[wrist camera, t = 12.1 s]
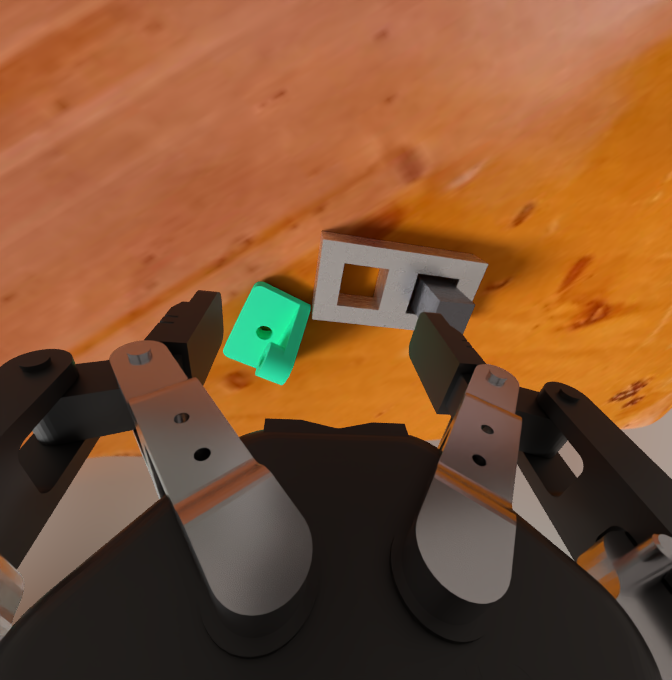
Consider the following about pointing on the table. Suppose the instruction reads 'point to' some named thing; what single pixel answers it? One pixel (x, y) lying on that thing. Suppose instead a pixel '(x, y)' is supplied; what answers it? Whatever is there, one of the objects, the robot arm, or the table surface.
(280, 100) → the table surface
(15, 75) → the table surface
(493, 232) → the table surface
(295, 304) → the camera mount
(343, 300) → the rail
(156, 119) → the table surface
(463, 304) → the peg
